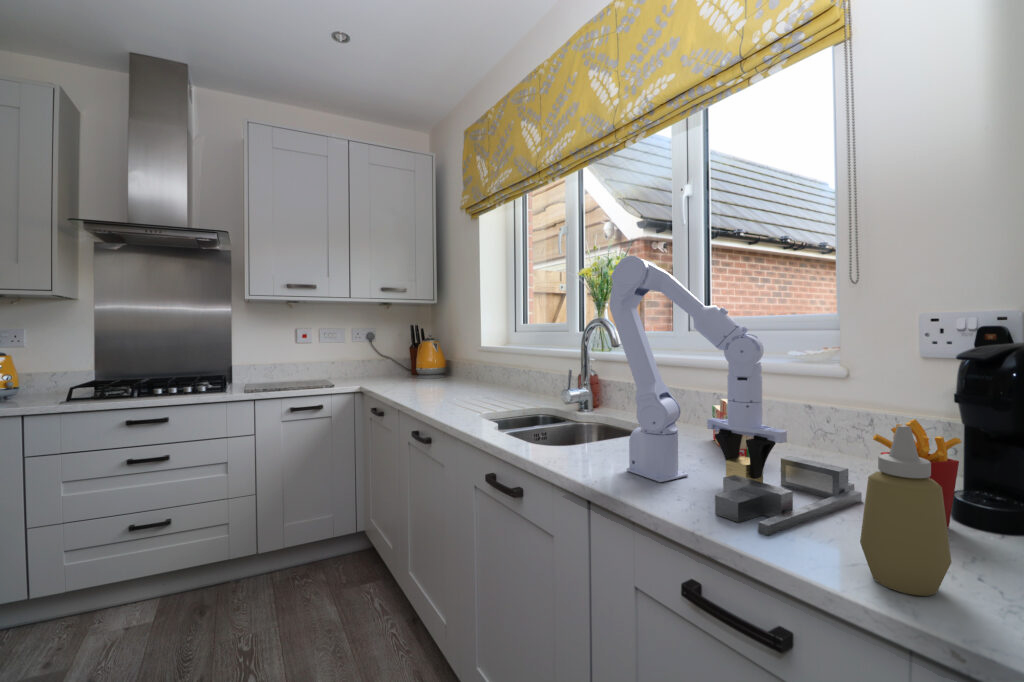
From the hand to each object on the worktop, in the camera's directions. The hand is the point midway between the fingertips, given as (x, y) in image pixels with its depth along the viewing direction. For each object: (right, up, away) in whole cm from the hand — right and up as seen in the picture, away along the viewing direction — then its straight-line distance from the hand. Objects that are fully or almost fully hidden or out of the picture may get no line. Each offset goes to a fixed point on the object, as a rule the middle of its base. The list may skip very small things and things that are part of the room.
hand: (744, 474), depth 89 cm
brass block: (0, -2, 0) cm, 2 cm away
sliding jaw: (-6, -3, -12) cm, 14 cm away
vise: (+3, -3, -8) cm, 9 cm away
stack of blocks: (+11, -2, +28) cm, 30 cm away
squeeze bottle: (+2, -3, -33) cm, 34 cm away
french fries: (+17, -3, -16) cm, 23 cm away
